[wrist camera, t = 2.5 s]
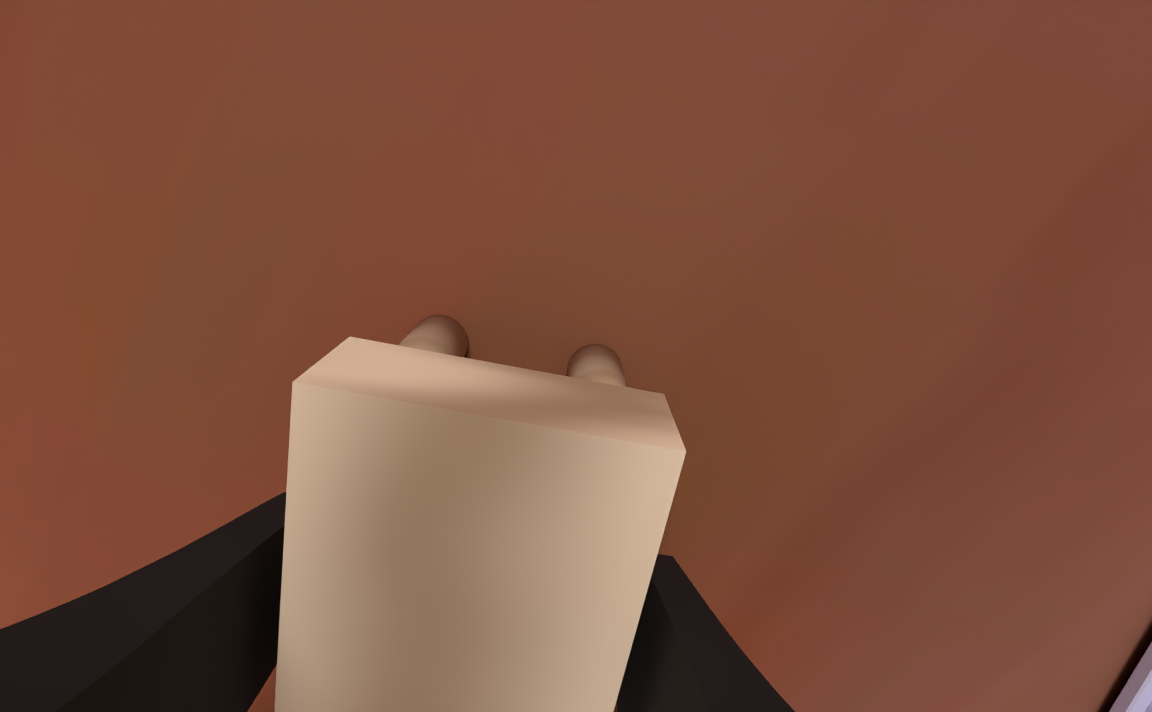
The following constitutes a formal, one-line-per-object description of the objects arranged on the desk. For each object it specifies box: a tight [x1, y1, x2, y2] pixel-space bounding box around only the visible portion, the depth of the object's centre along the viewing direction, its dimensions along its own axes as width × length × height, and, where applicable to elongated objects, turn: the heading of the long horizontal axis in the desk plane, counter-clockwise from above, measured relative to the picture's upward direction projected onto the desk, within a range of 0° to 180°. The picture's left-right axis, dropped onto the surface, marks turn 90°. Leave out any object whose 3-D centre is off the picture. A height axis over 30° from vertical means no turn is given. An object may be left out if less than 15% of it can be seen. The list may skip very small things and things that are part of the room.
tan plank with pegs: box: [274, 315, 686, 712], centre depth 11 cm, size 5×8×6 cm, turn 169°
